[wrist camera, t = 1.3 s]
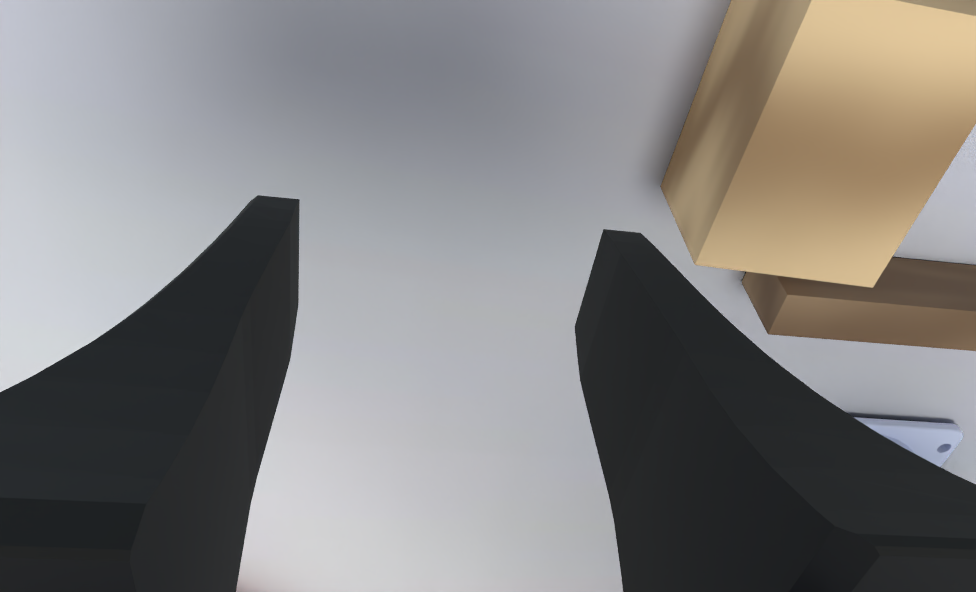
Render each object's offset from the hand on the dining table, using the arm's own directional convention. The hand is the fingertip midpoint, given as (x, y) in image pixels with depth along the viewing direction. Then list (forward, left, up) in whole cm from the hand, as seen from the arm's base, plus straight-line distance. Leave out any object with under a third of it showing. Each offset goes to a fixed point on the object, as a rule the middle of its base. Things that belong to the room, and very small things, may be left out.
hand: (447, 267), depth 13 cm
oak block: (0, -10, -10) cm, 14 cm away
